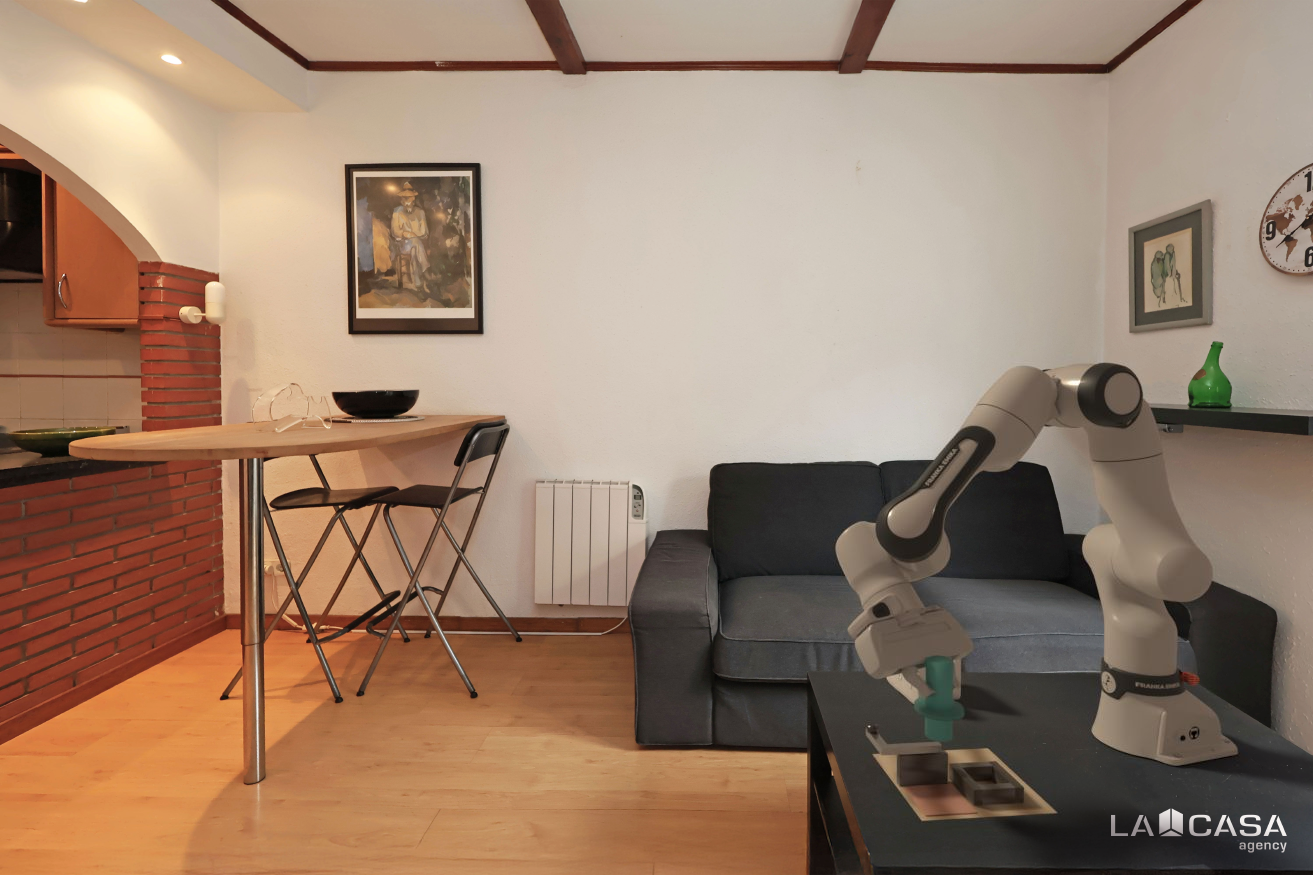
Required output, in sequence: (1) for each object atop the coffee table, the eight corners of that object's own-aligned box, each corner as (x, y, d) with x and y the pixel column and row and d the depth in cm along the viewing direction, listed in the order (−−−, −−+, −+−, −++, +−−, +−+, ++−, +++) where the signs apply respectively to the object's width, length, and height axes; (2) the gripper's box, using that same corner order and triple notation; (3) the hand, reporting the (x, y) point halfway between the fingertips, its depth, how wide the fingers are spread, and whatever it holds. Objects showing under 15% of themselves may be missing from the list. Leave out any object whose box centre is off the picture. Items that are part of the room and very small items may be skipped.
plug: (949, 723, 117) (951, 650, 116) (972, 745, 110) (974, 667, 109) (906, 725, 116) (907, 652, 116) (926, 748, 109) (927, 669, 108)
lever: (922, 732, 125) (923, 719, 125) (941, 752, 118) (941, 739, 118) (864, 734, 124) (864, 722, 124) (880, 755, 117) (880, 742, 117)
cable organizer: (964, 707, 149) (964, 651, 148) (915, 710, 148) (915, 654, 147) (926, 678, 164) (927, 627, 163) (882, 681, 162) (882, 630, 162)
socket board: (987, 753, 130) (988, 720, 129) (1057, 819, 110) (1058, 780, 110) (872, 759, 128) (872, 726, 128) (921, 826, 108) (922, 787, 108)
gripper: (931, 612, 127) (977, 688, 119) (839, 631, 118) (882, 714, 110) (952, 594, 123) (1002, 671, 114) (858, 611, 113) (904, 696, 105)
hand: (942, 692), depth 112 cm, fingers closed on plug, 4 cm apart
